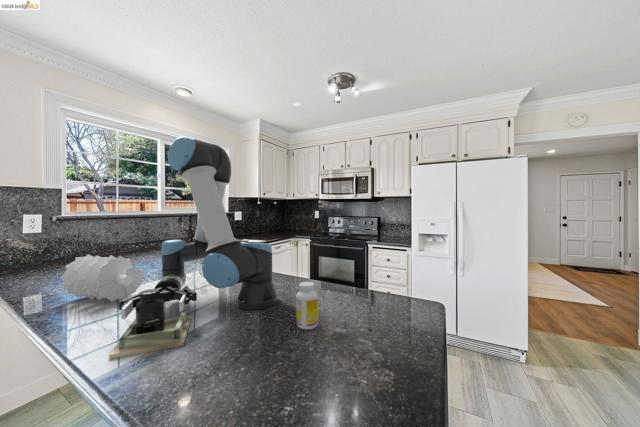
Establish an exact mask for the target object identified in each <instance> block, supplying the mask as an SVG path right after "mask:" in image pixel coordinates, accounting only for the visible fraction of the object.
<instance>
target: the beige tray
mask: <svg viewBox="0 0 640 427" xmlns="http://www.w3.org/2000/svg"><path fill="white" fill-rule="evenodd" d="M180 312H181V313H180V315H179V317H173V318H165V329H164V330H163V331H157V332H150V333H144V334H137V335H136V318H135V319H134V320H133V321H132V323H131V324H130V325H129V326H128V327H127V329H126V330H125V332H123V334H122V335H121V336H120V337H119V338H118V343H117V344H116V345H115V347H114V348H113V350H111V352H110V353H109V354H108V356H109V358H108V359H109V360H111V359H117V358H121V357H123V358H124V357H129V356H134V355H140V354H145V353H149V352H150V353H151V352H156V351H157V352H158V351H162V350H167V349H173V348H179V347H184V345H185V341H186V338H187V335H188V331H189V330H190V325H191V322H192V315H188V314H187V309H183V311H180Z"/></svg>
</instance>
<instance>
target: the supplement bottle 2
mask: <svg viewBox="0 0 640 427" xmlns="http://www.w3.org/2000/svg"><path fill="white" fill-rule="evenodd" d="M298 289H299V291H298V292H297V293H296V294H295V295H296V296H295V308H296V310H295V311H296V312H295V313H296V326H297V327H298V329H302V330H313V329H315V328H317V327H318V325H319V305H318V304H319V299H318V298H319V297H318V293H317V291H315V290H314V289H315V283H314V282H311V281H303V282H302V281H301V282H300V283H299V284H298Z"/></svg>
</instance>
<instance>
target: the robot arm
mask: <svg viewBox="0 0 640 427" xmlns="http://www.w3.org/2000/svg"><path fill="white" fill-rule="evenodd" d="M167 163H168V165H169V166H170V168H171V169H173V170H175V171H179V173H180V177H181V179H182V180H183V181H184V182H186V183H187V184H188V185H189V189H190V192H191V196H192V200H193V202H194V205H195V208H196V212H197V215H198V219H197V223H196V228H195V231H194V236H193V239H192V240H193V241H192V242H185V241H184V240H182V239H169V240H165V241H163V242H162V244H161V252H160V253H161V264H162V265H161V267H162V270H161V279H160V280H159V281H158V283H157V284H156V285H155V287H154V288H153V289H160V297H159V298H162V299H163V300H164V303H167V302H169V303H170V302H171V301H179V312H182V311H183V310H185V306H186V305H189V303H190V302H191V301H192V302H195V301H197V300H198V297H197V295H198V294H197V293H198V292H197V291H195V290H193V289H191V288H189V286H188V285H186V286H184V285H185V282H186V279H187V274H186V273H185V272H186V271H185V266H186V265H185V263H188V262H194V261H199V260H202V266H201V271H202V274H203V277H204V279H205V280H206V281H207V283H208V284H209V285H210V286H211V287H213V288H216V289H226V288H231V287H233V286H236V285H237V284H240V287H239V290H238V294H237V296H236V306H237V308H240V309H242V310H251V311H254V310H256V311H257V310H262V309H267V308H270V307H273V306H274V305H275V304H277V303H278V293H277V290H276V288H275V285H274V282H273V281H274V280H273V255H274V254H273V248H272V245H271V244H270V243H265V242H241V240H240V239H237V238H236V237H234V233H233V231H232V226H231V224H230V221H229V219H228V216H227V215H228V214H227V212H226V210H225V207H224V203H223V201H224V200H223V199H224V194H225V191H226V188H227V187H226V186H228V184H230V181H231V177H232V163H231V160H230V157H229V155H228V153H227V151H226V150H225V149H223V147H221V146H220V145H217V144H214V143H211V142H207V141H203V140H199V139H195V138H194V137H188V136H179V137H177V138H175V139H174V140H173V141H172V142H171V144H170V147H169V149H168V152H167ZM183 286H184V287H183ZM142 291H143V290H141V291H140V292H142ZM140 292H138V293H135V294H134V295H133V294H132V295H130V296H128V297H126V299H120V300H119V301H118V309H119V311H121V320H126V318H127V317H128V316H130V314H131V313H132V312H133V311H134V309H136V305H137V303H138V302H140V301H141V300H140Z"/></svg>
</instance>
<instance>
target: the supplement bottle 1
mask: <svg viewBox="0 0 640 427" xmlns="http://www.w3.org/2000/svg"><path fill="white" fill-rule="evenodd" d="M141 291H142V292H141ZM141 291H140V292H139V293H140V300H141V301H140V302H138V303H137V305H136V307H135V319H136V335H137V334H144V333H150V332H157V331H163V330H164V329H165V319H166V318H165V302H164V300H163V299H162V298H159V297H160V289H154V288H150V289H145V290H141Z"/></svg>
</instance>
